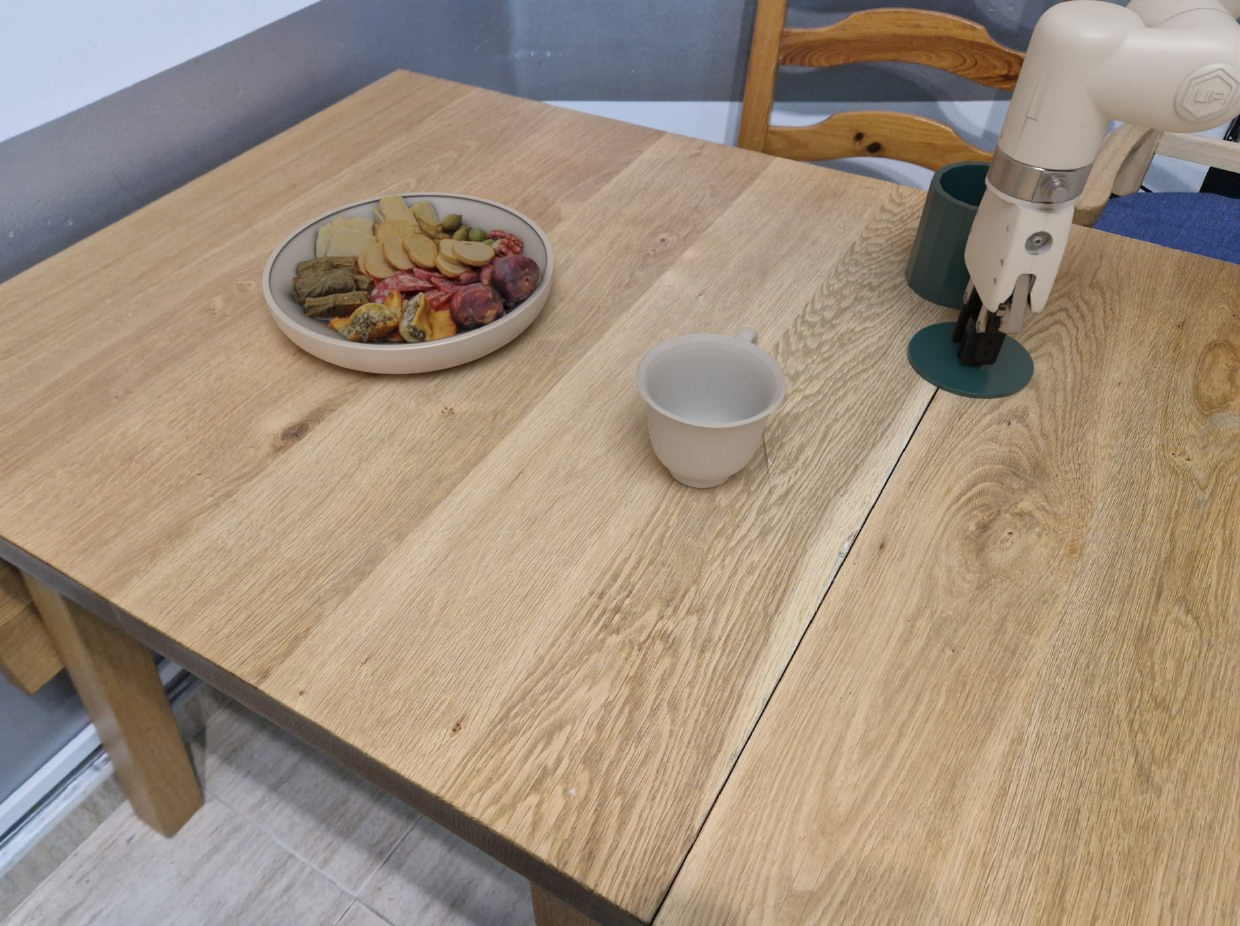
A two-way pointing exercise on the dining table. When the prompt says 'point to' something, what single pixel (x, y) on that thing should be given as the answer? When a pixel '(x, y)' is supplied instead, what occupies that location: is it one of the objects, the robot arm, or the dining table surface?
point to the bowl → (409, 281)
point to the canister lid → (944, 368)
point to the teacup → (708, 403)
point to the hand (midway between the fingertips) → (972, 350)
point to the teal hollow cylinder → (946, 233)
